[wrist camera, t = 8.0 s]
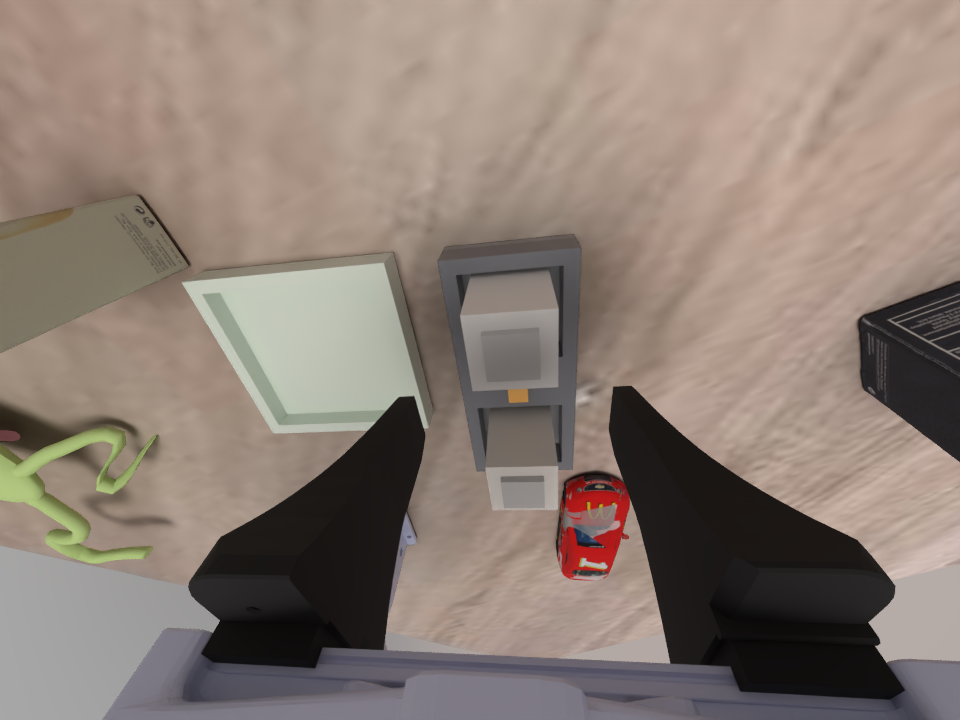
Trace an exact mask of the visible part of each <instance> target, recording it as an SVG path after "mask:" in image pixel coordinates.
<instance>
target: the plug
mask: <svg viewBox="0 0 960 720" xmlns="http://www.w3.org/2000/svg"><path fill="white" fill-rule="evenodd" d="M558 312H559V308H558V304H557V300H556V296H555V292H554V288H553V284H552V280H551V276H550V272H549V268H548V267H541V268H530V269H519V270H508V271H496V272H485V273H474V274H471V276H470V280H469V284H468V287H467V291H466V295H465V299H464V303H463V306H462V310H461V314H460V319H461V325H462V331H463V337H464V343H465V349H466V355H467V361H468V367H469V373H470V379H471V385H472V391H489V390H510V389H532V388H553V387H558Z"/></svg>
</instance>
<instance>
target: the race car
mask: <svg viewBox="0 0 960 720" xmlns="http://www.w3.org/2000/svg"><path fill="white" fill-rule="evenodd" d="M629 507H630V499H629V494H628V491H627V489H626V486H625V484H624V483H622V482H621V481H619V480H618V479H615V478H613V477H609V476H604V475H587V476H581V477H578V478H575V479H572V480H570V481H568V482H567V483H564V490H563V498H562V502H561V509H560V516H559V524H558V531H557V540H556V549H557V557H558V562H559V565H560V568H561V571H562V573H563V575H564V576H566V577H567V578H569V579H573V580H589V581H596V580H601V579H603V578H606V577H607V575H608V574H609V572H610V570H611V567H612V565H613V562H614V559H615V556H616V553H617V550H618V547H619V544H620V540H621V537H622V538H623V539H629V536H628V535H625V534H624V533H622V532H623V529H624V526H625V522H626V517H627V513H628V511H629Z"/></svg>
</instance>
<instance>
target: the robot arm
mask: <svg viewBox="0 0 960 720" xmlns="http://www.w3.org/2000/svg"><path fill="white" fill-rule="evenodd" d="M609 433H610V438H611V442H612V447H613V451H614V455H615V458H616V461H617V464H618V467H619V469H620V472H621V475H622V478H623V480H624V483H625V486H626V489H627V491H628V494H629V497H630V500H631V502H632V505H633V508H634V511H635V513H636V517H637V520H638V523H639V526H640V530H641V534H642V538H643V542H644V546H645V549H646V553H647V557H648V562H649V566H650V570H651V574H652V578H653V583H654V587H655V592H656V596H657V601H658V605H659V610H660V614H661V619H662V624H663V629H664V633H665V638H666V643H667V648H668V653H669V658H670V664H665V663H664V664H663V663H645V662H644V663H643V662H622V661H601V660H579V659H559V658H538V657H517V656H495V655H474V654H453V653H432V652H410V651H388V650H387V647H386V644H385V634H386V626H387V618H388V613H389V611H390V609H391V606H392V603H393V599H394V595H395V591H396V587H397V583H398V579H399V575H400V571H401V567H402V563H403V559H404V555H405V551H406V547H407V545H414V544H416V542H417V538H416V535H415V533H414V530H413V528H412V525H411V522H410V520H409V517H408V515H407V512H406V511H407V508H408V505H409V501H410V498H411V494H412V491H413V488H414V484H415V481H416V478H417V474H418V471H419V467H420V464H421V460H422V455H423V449H424V442H425V432H424V428H423V425H422V421H421V418H420V414H419V410H418V407H417V403H416V400H415V396H405V397H398V398H397V399H396V400H395V401H394V403H393V404H392V405H391V406H390V407H389V408H388V409H387V410H386V411H385V413H384V414H383V415H382V416H381V417H380V418H379V419H378V420H377V421H376V422H375V424H374V425H373V426H372V427H371V428H370V429H369V430H368V431H367V432H366V433H365V434H364V435H363V436H362V437H361V438H360V439H359V440H358V441H357V442H356V443H355V444H354V445H353V446H352V447H351V448H350V449H349V450H348V451H347V452H346V453H345V454H344V455H343V456H341V457H340V458H339V459H338V460H337V461H336V462H335V463H334V464H332V465H331V466H330V467H329V468H327V469H326V470H325V471H324V472H323V473H321V474H320V475H319V476H318V477H316V478H315V479H314V480H312V481H311V482H309V483H308V484H307V485H305V486H304V487H303V488H301V489H300V490H298V491H297V492H296V493H294V494H293V495H291V496H290V497H288V498H287V499H285V500H284V501H282V502H281V503H279V504H278V505H276V506H275V507H273V508H271V509H270V510H268V511H266V512H265V513H263V514H261V515H260V516H258V517H256V518H255V519H253V520H251V521H249V522H247V523H246V524H244V525H242V526H240V527H238V528H237V529H235V530H233V531H231V532H229V533H227V534H226V535H224V536H222V537H220V539H219V540H218V541H217V543H216V544H215V546H214V547H213V548H212V550H211V551H210V553H209V554H208V556H207V557H206V558H205V560H204V561H203V563H202V564H201V566H200V567H199V569H198V570H197V571H196V573H195V574H194V576H193V577H192V579H191V580H190V582H189V586H188V587H189V591H190V593H191V596H192V597H194V599H195V600H196V601H197V602H199V603H200V604H201V605H202V606H203V607H205V608H206V609H207V610H208V611H209V612H211V613H212V614H213V615H214V616H215V617H217V618H218V619H219V620H220V622H219V624H218V626H217V627H216V629H215V631H214V632H213V633H212V632H209V631H205V630H200V629H180V628H167V629H165V630H163V631H162V633H161V634H160V636H159V637H158V639H157V640H156V642H155V643H154V645H153V646H152V648H151V649H150V651H149V652H148V654H147V655H146V656H145V658H144V659H143V661H142V662H141V664H140V665H139V667H138V668H137V670H136V671H135V673H134V674H133V675H132V677H131V678H130V680H129V681H128V683H127V684H126V686H125V687H124V689H123V690H122V692H121V693H120V695H119V696H118V698H117V699H116V700H115V702H114V703H113V705H112V706H111V708H110V709H109V711H108V712H107V714H106V715H105V717H104V718H103V719H102V720H960V661H941V660H940V661H939V660H917V659H901V660H894V661H890V662H887V663H886V661H885V660H884V659H883V657H882V656H881V654H880V653H879V651H878V650H877V649H876V647H875V646H877V645H879V644H880V639H879V637H878V636H877V634H876V633H875V632H874V630H873V629H872V627H871V626H870V625H869V623H868V622H869V621H870V620H871V619H873V618H874V617H875V616H876V615H877V614H878V613H879V612H880V611H882V610H883V609H884V608H885V607H886V606H887V605H888V604H889V603H890V602H891V600H892V599H893V598H894V594H895V585H894V584H893V582H892V581H891V579H890V578H889V577H888V576H887V574H886V573H885V572H884V571H883V569H882V568H881V567H880V566H879V564H878V563H877V562H876V561H875V559H874V558H873V557H872V556H871V555H870V554H869V553H868V551H867V550H866V549H865V548H864V547H863V546H862V545H861V544H860V543H859V542H858V540H856V539H854V538H852V537H850V536H848V535H846V534H844V533H842V532H840V531H838V530H835V529H833V528H831V527H829V526H827V525H825V524H823V523H821V522H819V521H817V520H815V519H813V518H810V517H808V516H807V515H805V514H803V513H801V512H799V511H797V510H795V509H793V508H792V507H790V506H788V505H786V504H784V503H782V502H780V501H779V500H777V499H775V498H773V497H772V496H770V495H768V494H766V493H765V492H763V491H761V490H760V489H758V488H756V487H755V486H753V485H752V484H750V483H748V482H747V481H745V480H743V479H742V478H740V477H739V476H737V475H736V474H734V473H733V472H731V471H730V470H728V469H727V468H725V467H724V466H722V465H721V464H720V463H718V462H717V461H715V460H714V459H713V458H711V457H710V456H708V455H707V454H706V453H704V452H703V451H702V450H700V449H699V448H698V447H697V446H695V445H694V444H693V443H692V442H691V441H689V440H688V439H687V438H686V437H685V436H683V435H682V434H681V433H680V432H679V431H678V430H677V429H676V428H674V427H673V426H672V425H671V424H670V423H669V422H668V421H667V420H666V419H665V418H664V417H663V416H661V415H660V414H659V413H658V412H657V411H656V410H655V409H654V408H653V407H652V406H651V405H650V404H649V403H648V402H647V401H646V400H645V399H644V398H643V397H642V396H641V395H640V394H639V393H638V392H637V391H636V390H635V389H634V388H633V387H632V386H619V387H613V395H612V404H611V413H610V422H609Z"/></svg>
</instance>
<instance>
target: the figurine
mask: <svg viewBox="0 0 960 720" xmlns="http://www.w3.org/2000/svg"><path fill="white" fill-rule="evenodd" d="M156 436H157V435H155V436H153V437H152V438H151V440H150V441H149V442H148V443H147V444H146V446H145V447H144V448H143V450H142V451H141V452H140V454H139V455H138V456H137V458H136V459H135V461H134V462H133V463H132V464H131V466H130V467H129V468H128V469H127V470H126V472H124V473H123V474H122V475H121V476H119V477H118V478H117V479H116V480H115V479H112V478H109V477H107V476H106V473H107V470H108V467H109V465H110V464H111V463H112V462H113V461H114V459H115V458H116V457H117V456H118V455H119V453H120V452H121V451H122V449H123V448H124V447H125V445H126V436H125V431H121V430H118V429H115V428H112V427H104V428H97V429H91V430H88V431H85V432H82V433H80V434H77V435H75V436H72V437H70V438H67V439H65V440H62V441H60V442H57V443H55V444H52V445H49V446H47V447H44V448H42V449H41V450H39V451H37V452H36V453H34V454H32V455H31V456H29V457H28V458H27V459H26V460H24V461H23V460H22V459H20V458H19V457H18V456H16V455H15V454H14V453H12V452H11V451H10V450H8V449H7V448H5V447H3V446H2V445H0V500H4V501H10V502H25V503H27V504H29V505H31V506H33V507H35V508H37V509H39V510H40V511H42V512H43V513H45V514H46V515H48V516H50V517H51V518H53V519H54V520H56V521H58V522H59V523H61V524H62V525H64V526H65V527H67V528H68V529H69V530H70V531H68V530H62V529H54V530H52V531H50V532H49V533H48V534H47V535H46V538H45V540H46V543H47V544H48V545H49V546H50V547H52V548H53V549H55V550H57V551H58V552H60V553H62V554H64V555H66V556H69V557H72V558H74V559H77V560H81V561H84V562H87V563H93V564H96V563H103V562H106V561H113V560H120V559H144V558H146V557H147V556H148V555H149V554H150V552H151V551H152V549H153V546H140V547H127V548H119V549H111V550H108V551H99V550H95V549H92V548H89V547H85V546H83V545H81V544H78V543H81V542H83V541H84V540H86V539H87V538H88V535H89V533H90V530H91V527H90V524H89V522H88V521H87V520H86V519H85V518H84V517H83V516H82V515H81V514H79V513H78V512H76V511H75V510H73V509H72V508H70V507H68V506H67V505H65V504H64V503H62V502H61V501H59V500H58V499H57V498H55V497H54V496H52V495H50V494H48V493H46V492H45V485H44V482H43V481H42V480H41V478H40V477H39V476H38V475H37V473H36V472H37V471H38V470H39V469H40V468H41V467H43V466H44V465H46V464H47V463H49V462H51V461H52V460H54V459H57V458H59V457H62V456H64V455H66V454H69V453H71V452H73V451H75V450H78V449H80V448H82V447H84V446H86V445H89V444H92V443H96V442H100V441H105V442H108V443H111V444H113V448H112V452H111V456H110V457H109V459H108V461H107V462H106V464H105V466H104V467H103V469H102V471H101V473H100V474H99V476H98V478H97V487H96V491H100V492H105V493H109V494H114V493H116V492H117V491H118V490H120V489H121V488H122V487H124V486H125V485H126V484H127V482H128V481H129V480H130V478H131V477H132V476H133V474H134V472H135V471H136V469H137V467H138V466H139V464H140V462H141V460H142V458H143V455H144V454H145V452H146V451H147V449H148V448H149V446H150V445H151V444H152V442H153V441H154V439H155V438H156ZM18 439H20V435H19V434H18V433H16V432H15V431H7V430H0V441H16V440H18Z"/></svg>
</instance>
